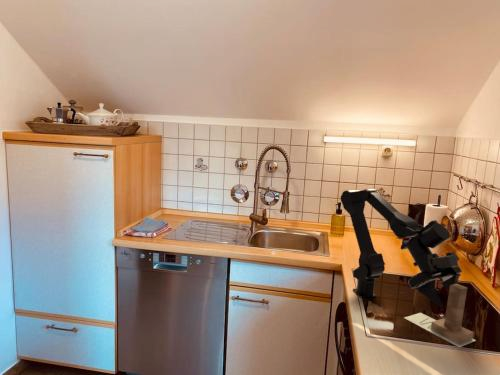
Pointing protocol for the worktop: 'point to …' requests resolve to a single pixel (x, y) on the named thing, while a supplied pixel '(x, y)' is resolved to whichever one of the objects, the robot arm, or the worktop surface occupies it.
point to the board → (429, 325)
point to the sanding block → (454, 317)
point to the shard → (375, 309)
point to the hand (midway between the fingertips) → (451, 303)
